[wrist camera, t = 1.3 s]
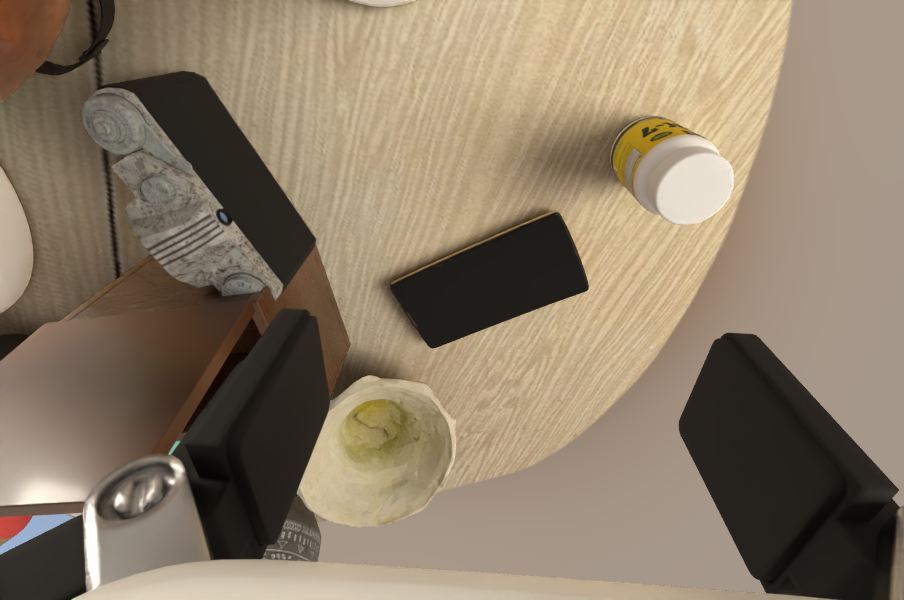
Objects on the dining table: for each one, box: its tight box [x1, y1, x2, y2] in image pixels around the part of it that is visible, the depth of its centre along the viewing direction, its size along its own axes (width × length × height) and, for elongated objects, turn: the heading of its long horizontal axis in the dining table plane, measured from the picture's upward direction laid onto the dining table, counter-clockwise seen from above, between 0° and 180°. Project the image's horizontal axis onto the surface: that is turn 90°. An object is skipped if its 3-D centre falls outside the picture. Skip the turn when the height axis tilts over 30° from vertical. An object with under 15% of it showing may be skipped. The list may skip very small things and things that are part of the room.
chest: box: [58, 244, 351, 441], centre depth 34 cm, size 12×14×10 cm
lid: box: [0, 301, 256, 517], centre depth 22 cm, size 12×14×1 cm
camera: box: [81, 71, 317, 301], centre depth 28 cm, size 15×7×10 cm, turn 25°
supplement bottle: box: [610, 116, 734, 225], centre depth 27 cm, size 5×5×8 cm
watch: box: [36, 0, 115, 75], centre depth 25 cm, size 8×5×4 cm, turn 130°
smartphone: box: [390, 211, 589, 348], centre depth 36 cm, size 7×1×15 cm
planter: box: [262, 496, 321, 562], centre depth 50 cm, size 12×12×13 cm
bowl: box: [297, 375, 456, 527], centre depth 40 cm, size 15×14×10 cm
